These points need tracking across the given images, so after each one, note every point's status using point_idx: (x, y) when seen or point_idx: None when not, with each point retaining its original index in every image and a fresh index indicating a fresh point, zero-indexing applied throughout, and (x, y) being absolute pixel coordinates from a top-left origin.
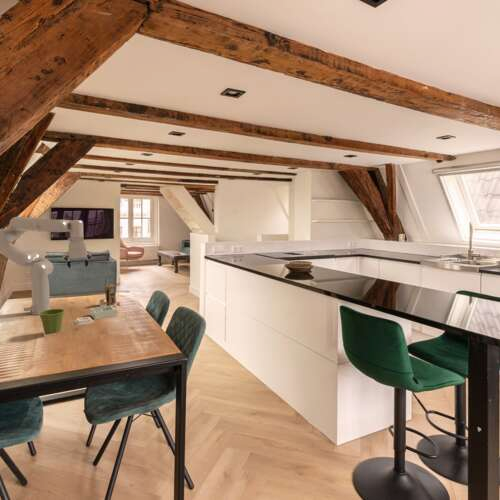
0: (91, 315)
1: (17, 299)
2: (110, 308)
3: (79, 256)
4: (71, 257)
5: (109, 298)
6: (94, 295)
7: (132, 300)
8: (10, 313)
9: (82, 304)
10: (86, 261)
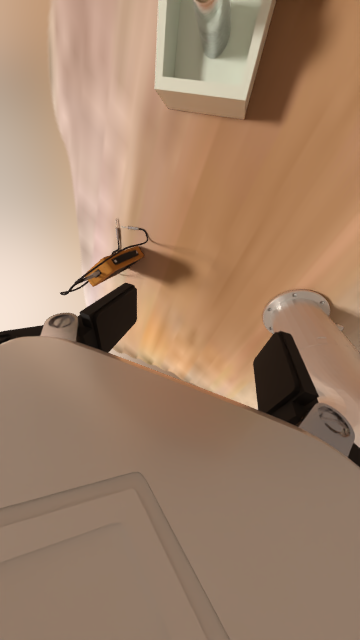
0: (254, 77)
1: None
2: (167, 55)
3: (139, 398)
4: (347, 465)
5: (127, 249)
6: (139, 353)
7: (83, 258)
8: None
9: (183, 311)
10: (95, 307)
